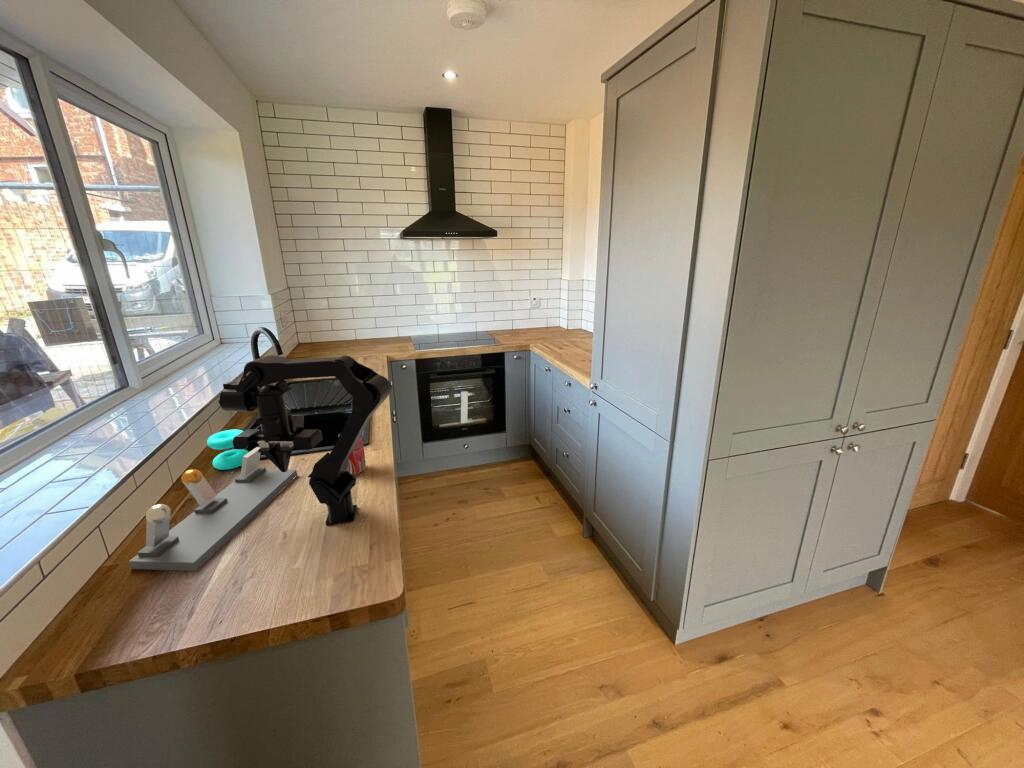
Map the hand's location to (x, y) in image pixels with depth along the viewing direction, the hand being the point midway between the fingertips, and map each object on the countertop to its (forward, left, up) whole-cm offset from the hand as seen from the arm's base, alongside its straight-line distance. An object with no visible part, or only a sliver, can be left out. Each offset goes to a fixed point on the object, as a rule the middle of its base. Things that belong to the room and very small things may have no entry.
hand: (284, 471), depth 99 cm
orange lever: (+5, +20, -8) cm, 22 cm away
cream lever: (-9, +24, -8) cm, 27 cm away
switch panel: (+4, +16, -12) cm, 20 cm away
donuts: (+34, +26, -12) cm, 44 cm away
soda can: (+19, -12, -12) cm, 26 cm away
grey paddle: (+19, +16, -8) cm, 26 cm away
